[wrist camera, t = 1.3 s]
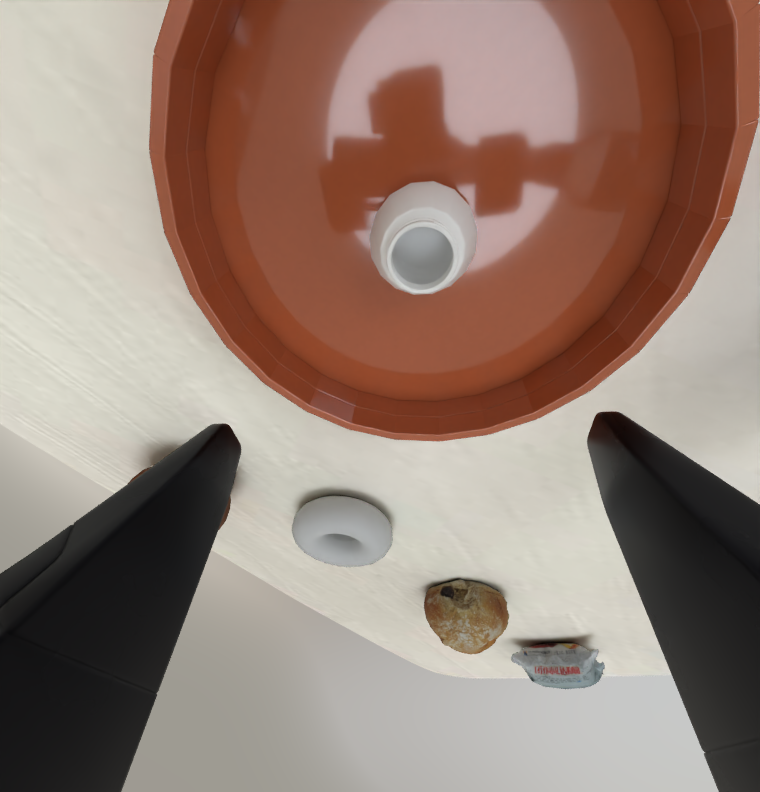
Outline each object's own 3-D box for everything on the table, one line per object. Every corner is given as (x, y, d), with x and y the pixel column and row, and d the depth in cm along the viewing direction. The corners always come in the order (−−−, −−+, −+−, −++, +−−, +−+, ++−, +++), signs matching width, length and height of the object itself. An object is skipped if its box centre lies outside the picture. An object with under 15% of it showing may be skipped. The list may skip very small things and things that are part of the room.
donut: (337, 473, 31) (278, 512, 36) (330, 507, 28) (267, 544, 34) (414, 521, 35) (351, 550, 40) (414, 555, 32) (346, 582, 37)
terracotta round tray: (864, -224, 9) (1052, -362, 6) (583, 408, 23) (604, 448, 21) (94, -112, 11) (-9, -179, 9) (267, 398, 26) (248, 433, 23)
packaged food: (508, 638, 54) (514, 678, 50) (593, 634, 49) (606, 678, 45) (522, 654, 58) (529, 692, 55) (601, 652, 54) (614, 693, 50)
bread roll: (487, 549, 44) (482, 602, 37) (523, 614, 45) (525, 677, 38) (420, 564, 48) (404, 613, 41) (455, 622, 49) (445, 680, 42)
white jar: (447, 300, 19) (494, 203, 16) (450, 327, 17) (505, 220, 14) (360, 269, 18) (390, 162, 15) (351, 293, 16) (384, 173, 13)
